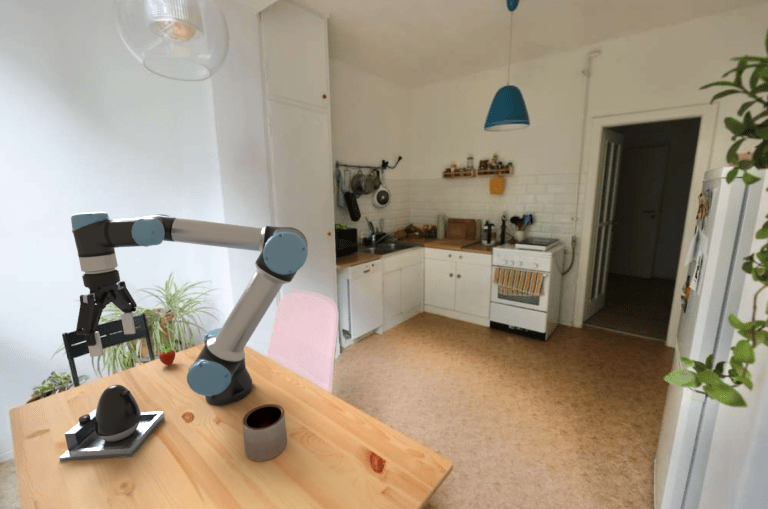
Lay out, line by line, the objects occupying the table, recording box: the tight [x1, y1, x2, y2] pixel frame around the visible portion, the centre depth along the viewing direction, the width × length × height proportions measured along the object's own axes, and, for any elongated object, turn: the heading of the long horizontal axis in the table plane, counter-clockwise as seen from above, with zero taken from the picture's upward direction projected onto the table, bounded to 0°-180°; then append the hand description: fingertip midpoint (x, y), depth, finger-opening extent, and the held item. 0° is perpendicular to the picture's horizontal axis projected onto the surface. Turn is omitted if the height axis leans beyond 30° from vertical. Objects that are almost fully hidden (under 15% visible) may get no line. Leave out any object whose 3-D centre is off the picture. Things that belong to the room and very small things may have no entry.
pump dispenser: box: [95, 384, 142, 442], centre depth 93 cm, size 10×10×15 cm
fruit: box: [158, 346, 176, 367], centre depth 134 cm, size 5×5×8 cm
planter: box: [242, 403, 288, 462], centre depth 90 cm, size 11×11×10 cm
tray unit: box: [59, 409, 165, 462], centre depth 94 cm, size 18×15×7 cm
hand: (114, 344), depth 93 cm, fingers open, 13 cm apart
